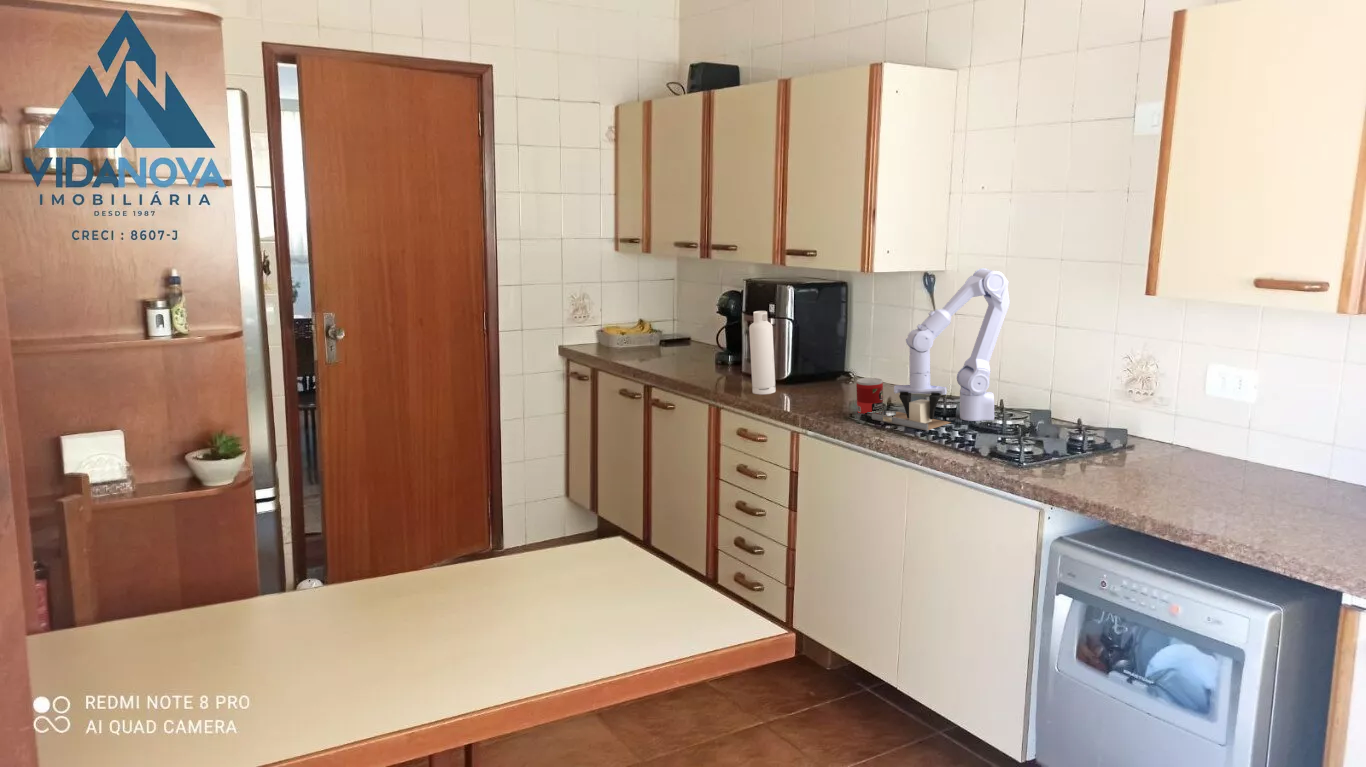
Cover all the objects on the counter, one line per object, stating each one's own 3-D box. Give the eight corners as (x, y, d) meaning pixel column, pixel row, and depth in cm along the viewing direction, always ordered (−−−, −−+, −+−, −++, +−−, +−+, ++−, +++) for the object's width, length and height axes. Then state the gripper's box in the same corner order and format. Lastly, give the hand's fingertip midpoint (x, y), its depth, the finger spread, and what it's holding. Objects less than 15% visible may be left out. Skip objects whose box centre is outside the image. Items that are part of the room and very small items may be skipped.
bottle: (764, 395, 322) (760, 314, 316) (747, 392, 328) (743, 312, 322) (780, 390, 327) (777, 311, 321) (763, 388, 333) (759, 309, 327)
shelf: (951, 427, 268) (951, 416, 268) (926, 435, 262) (926, 424, 261) (896, 416, 284) (896, 405, 283) (871, 424, 278) (871, 413, 277)
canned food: (876, 419, 282) (875, 384, 279) (852, 417, 287) (851, 381, 284) (887, 413, 288) (887, 378, 285) (864, 411, 292) (863, 376, 290)
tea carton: (920, 424, 268) (920, 404, 266) (908, 422, 271) (908, 402, 270) (931, 421, 270) (931, 401, 269) (919, 419, 274) (919, 398, 272)
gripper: (948, 369, 268) (948, 415, 271) (897, 368, 274) (898, 413, 277) (944, 374, 262) (944, 421, 265) (891, 373, 268) (892, 419, 271)
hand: (920, 417), depth 270 cm, fingers closed on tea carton, 6 cm apart
